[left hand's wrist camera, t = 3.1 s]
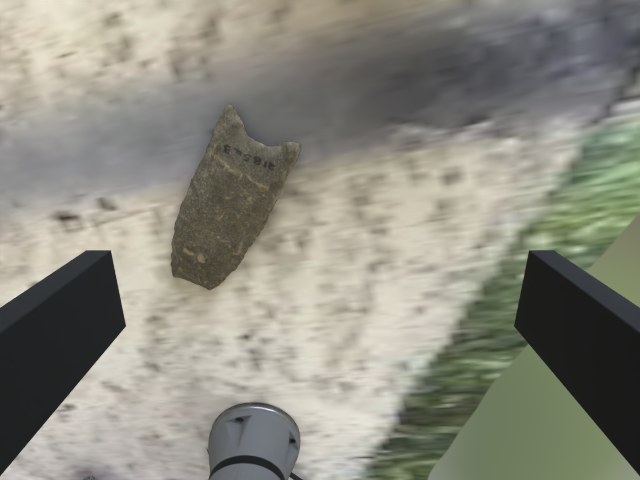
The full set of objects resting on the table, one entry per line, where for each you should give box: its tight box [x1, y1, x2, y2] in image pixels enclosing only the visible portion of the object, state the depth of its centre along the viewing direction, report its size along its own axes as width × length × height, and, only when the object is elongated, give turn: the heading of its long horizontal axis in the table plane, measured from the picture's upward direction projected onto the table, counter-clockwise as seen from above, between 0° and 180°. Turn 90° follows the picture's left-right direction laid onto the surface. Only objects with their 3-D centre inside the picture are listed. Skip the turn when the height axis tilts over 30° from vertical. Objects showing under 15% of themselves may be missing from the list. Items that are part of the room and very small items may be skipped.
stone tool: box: [171, 105, 301, 290], centre depth 52 cm, size 11×3×25 cm
